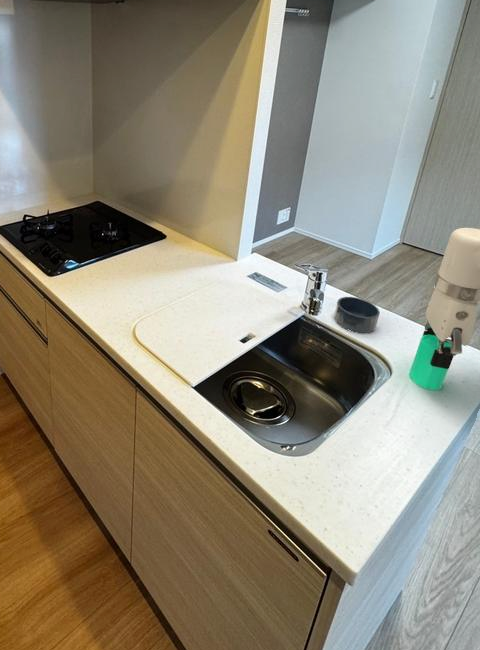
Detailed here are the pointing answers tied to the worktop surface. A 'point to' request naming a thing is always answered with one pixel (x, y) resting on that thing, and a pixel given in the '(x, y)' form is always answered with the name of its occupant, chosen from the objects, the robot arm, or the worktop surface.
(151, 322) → the worktop surface
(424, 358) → the candle
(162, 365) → the worktop surface
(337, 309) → the bowl
